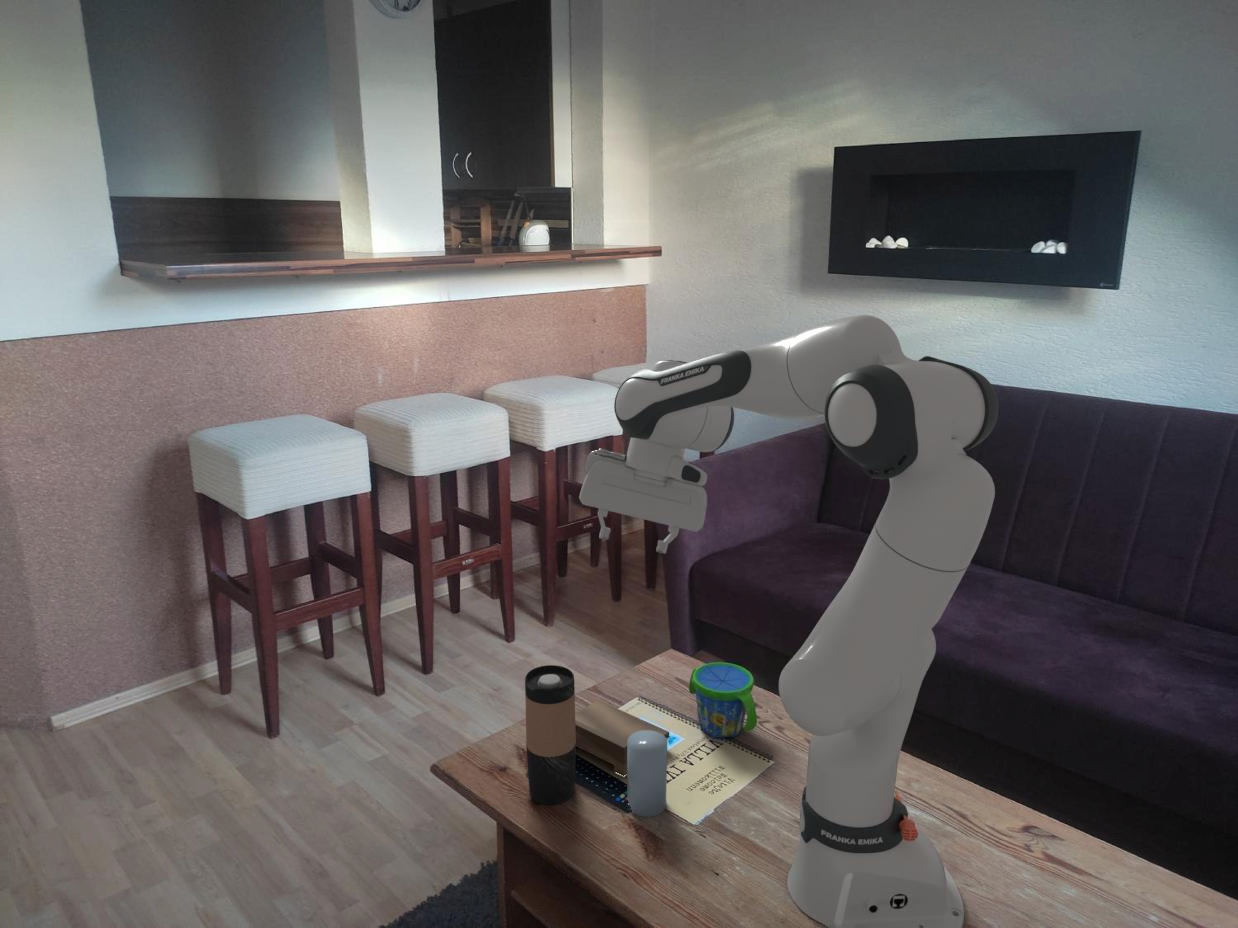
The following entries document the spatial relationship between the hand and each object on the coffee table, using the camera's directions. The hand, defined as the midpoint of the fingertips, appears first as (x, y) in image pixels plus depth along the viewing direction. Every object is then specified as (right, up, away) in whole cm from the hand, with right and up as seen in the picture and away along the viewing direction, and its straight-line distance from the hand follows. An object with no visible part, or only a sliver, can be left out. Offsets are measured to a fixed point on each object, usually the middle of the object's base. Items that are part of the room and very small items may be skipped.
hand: (632, 545), depth 143 cm
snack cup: (+16, -34, +15) cm, 40 cm away
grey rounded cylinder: (+2, -39, -5) cm, 40 cm away
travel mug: (-13, -39, -2) cm, 41 cm away
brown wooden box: (-4, -35, +10) cm, 37 cm away
